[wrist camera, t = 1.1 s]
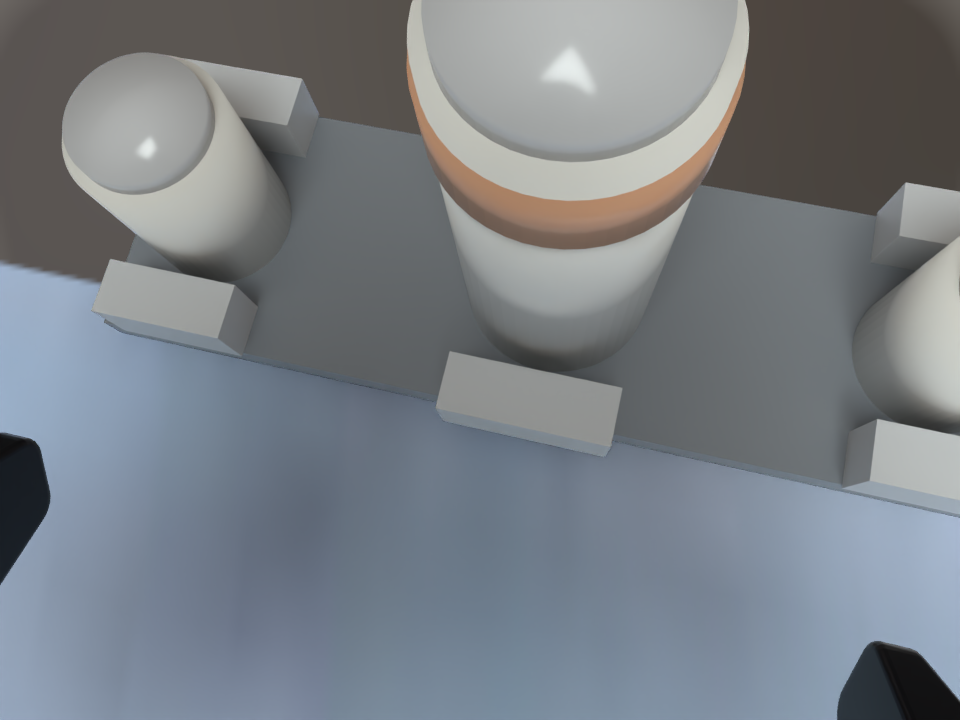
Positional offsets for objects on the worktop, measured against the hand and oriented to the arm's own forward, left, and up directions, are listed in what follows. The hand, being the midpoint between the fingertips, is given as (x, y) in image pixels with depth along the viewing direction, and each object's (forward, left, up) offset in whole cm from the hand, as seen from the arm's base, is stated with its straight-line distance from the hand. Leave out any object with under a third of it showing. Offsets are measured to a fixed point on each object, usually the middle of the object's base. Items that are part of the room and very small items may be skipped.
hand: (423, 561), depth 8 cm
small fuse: (+8, +10, -13) cm, 18 cm away
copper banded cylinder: (+8, 0, -13) cm, 15 cm away
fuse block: (+8, 0, -14) cm, 16 cm away
